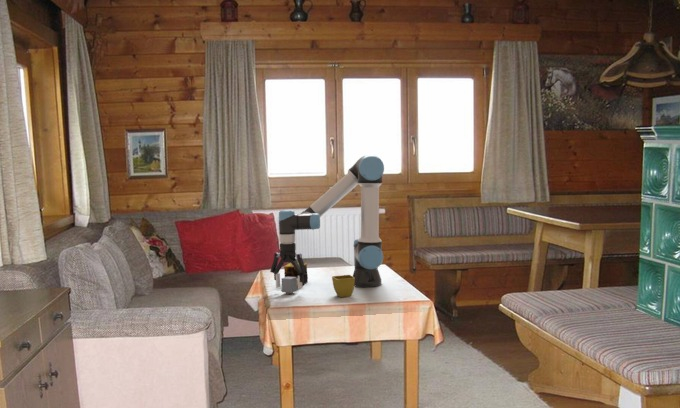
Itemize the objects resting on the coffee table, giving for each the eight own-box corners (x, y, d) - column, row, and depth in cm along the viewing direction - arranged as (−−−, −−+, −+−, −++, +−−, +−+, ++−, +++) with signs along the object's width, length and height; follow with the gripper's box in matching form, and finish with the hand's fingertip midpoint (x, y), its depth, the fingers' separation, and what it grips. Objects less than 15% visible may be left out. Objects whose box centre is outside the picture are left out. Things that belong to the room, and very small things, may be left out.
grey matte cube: (291, 292, 300) (290, 279, 299) (281, 292, 302) (281, 278, 302) (296, 290, 305) (296, 277, 304) (287, 290, 307) (287, 276, 306)
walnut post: (293, 293, 304) (292, 278, 303) (290, 294, 302) (289, 279, 301) (288, 292, 305) (287, 278, 305) (285, 294, 303) (285, 279, 302)
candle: (303, 286, 321) (302, 266, 320) (284, 285, 323) (283, 266, 322) (308, 282, 331) (307, 263, 330) (289, 281, 333) (288, 262, 332)
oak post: (299, 288, 314) (299, 278, 313) (297, 289, 311) (296, 279, 311) (295, 288, 315) (295, 278, 314) (292, 289, 313) (292, 279, 312)
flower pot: (337, 298, 289) (336, 279, 289) (332, 295, 298) (331, 276, 297) (355, 297, 292) (355, 277, 291) (350, 293, 300) (349, 274, 300)
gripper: (313, 242, 300) (314, 288, 301) (270, 240, 310) (272, 284, 312) (305, 244, 293) (307, 291, 294) (262, 242, 303) (263, 287, 305)
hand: (289, 288), depth 303 cm, fingers open, 11 cm apart
